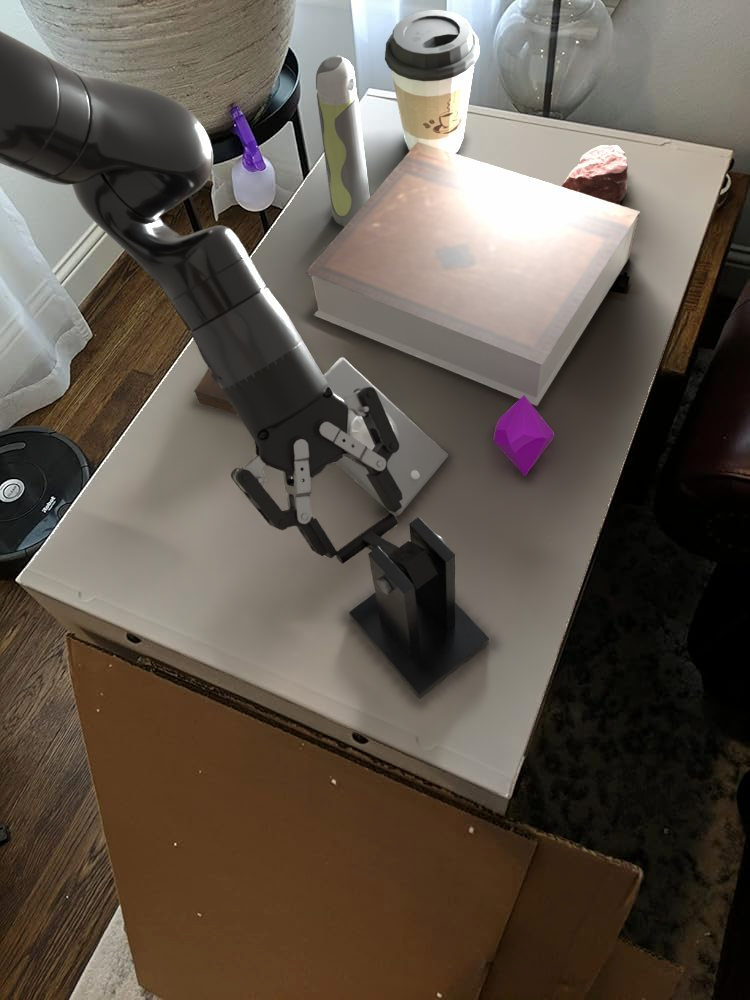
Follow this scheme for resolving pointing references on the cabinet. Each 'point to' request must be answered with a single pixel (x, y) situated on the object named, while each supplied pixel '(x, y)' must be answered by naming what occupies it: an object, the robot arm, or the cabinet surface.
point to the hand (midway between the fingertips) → (363, 531)
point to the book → (474, 268)
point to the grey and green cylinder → (342, 138)
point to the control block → (212, 394)
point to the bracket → (418, 617)
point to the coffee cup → (432, 76)
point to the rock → (600, 174)
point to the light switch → (415, 447)
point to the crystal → (522, 435)
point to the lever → (392, 552)
